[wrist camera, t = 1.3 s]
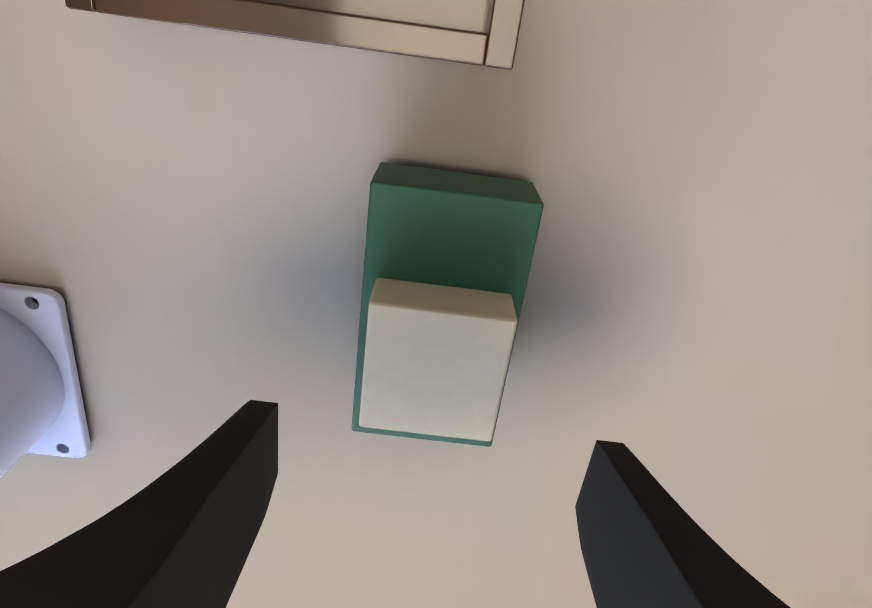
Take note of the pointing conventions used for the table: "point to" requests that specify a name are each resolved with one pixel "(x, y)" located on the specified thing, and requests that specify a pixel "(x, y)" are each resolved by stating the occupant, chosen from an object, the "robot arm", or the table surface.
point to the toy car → (441, 301)
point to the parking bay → (352, 23)
